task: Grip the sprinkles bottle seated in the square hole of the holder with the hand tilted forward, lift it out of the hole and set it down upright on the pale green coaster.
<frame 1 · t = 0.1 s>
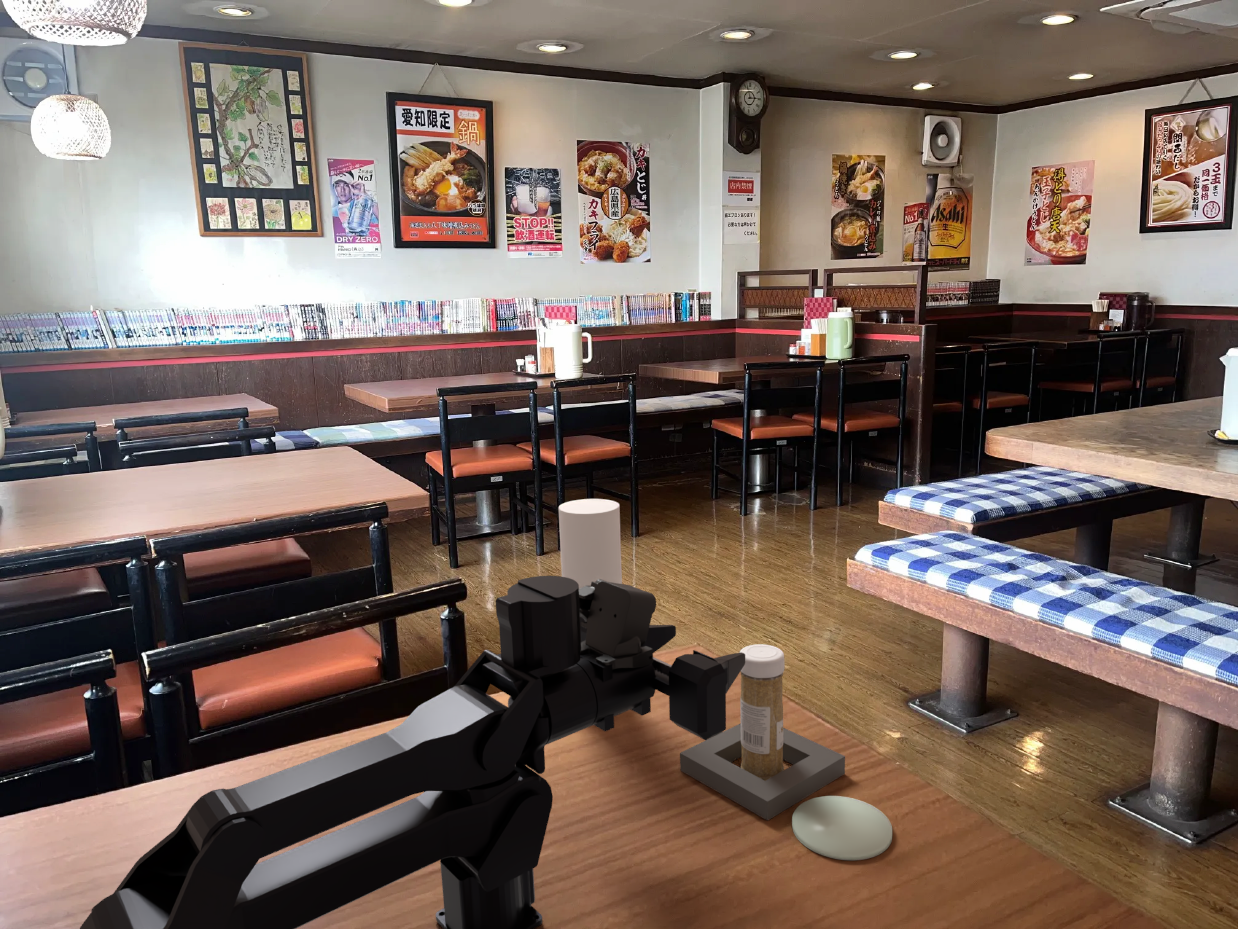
hand: (707, 643, 84), 17 cm above the table, tool horizontal, fingers open, 9 cm apart
coaster: (841, 829, 82), on the table
sprinkles bottle: (761, 774, 92), resting in holder
holder: (761, 772, 92), on the table
cylindrical container: (597, 704, 108), on the table
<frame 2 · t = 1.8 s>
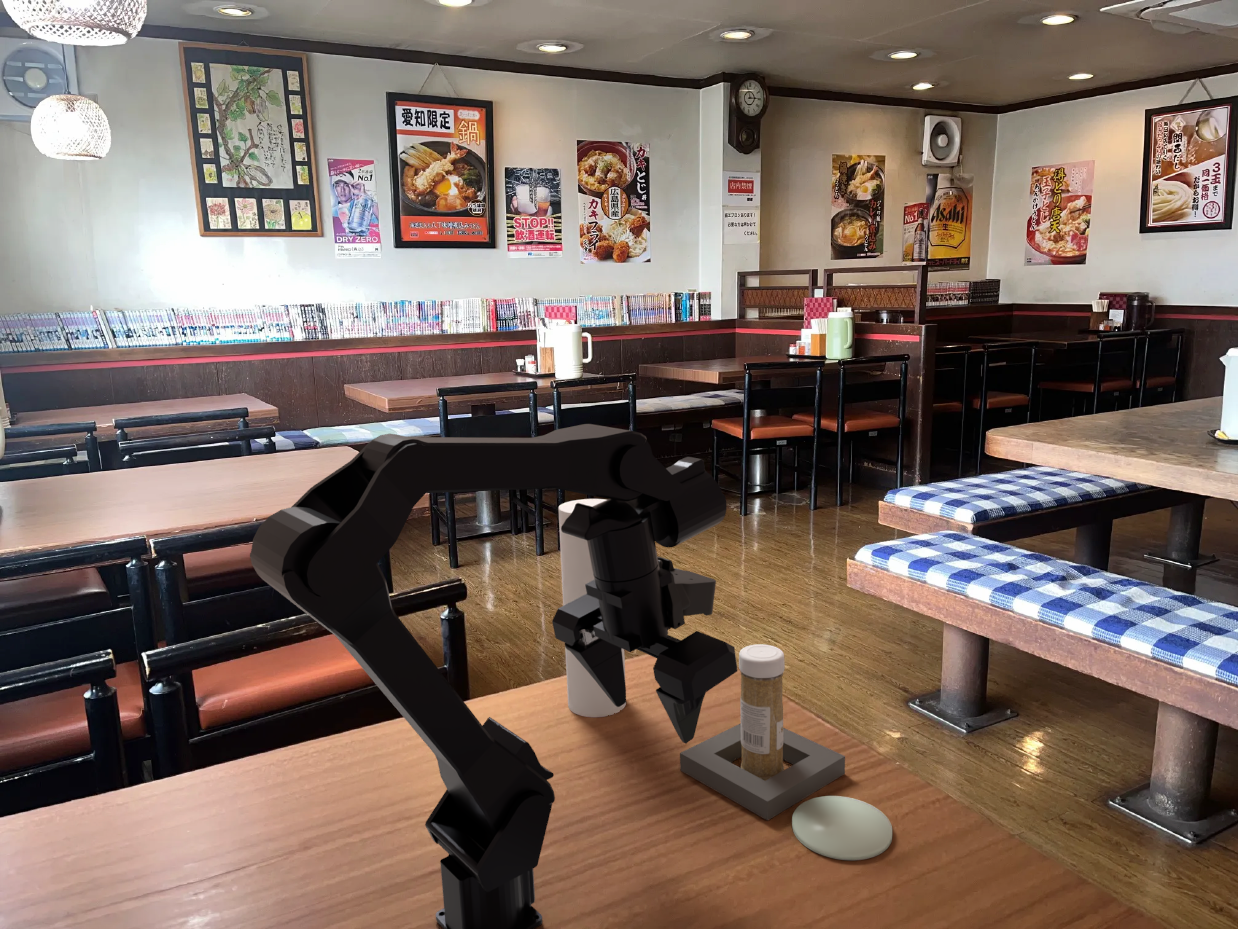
hand: (653, 721, 80), 11 cm above the table, tool pointing down, fingers open, 9 cm apart
nothing on the table moved.
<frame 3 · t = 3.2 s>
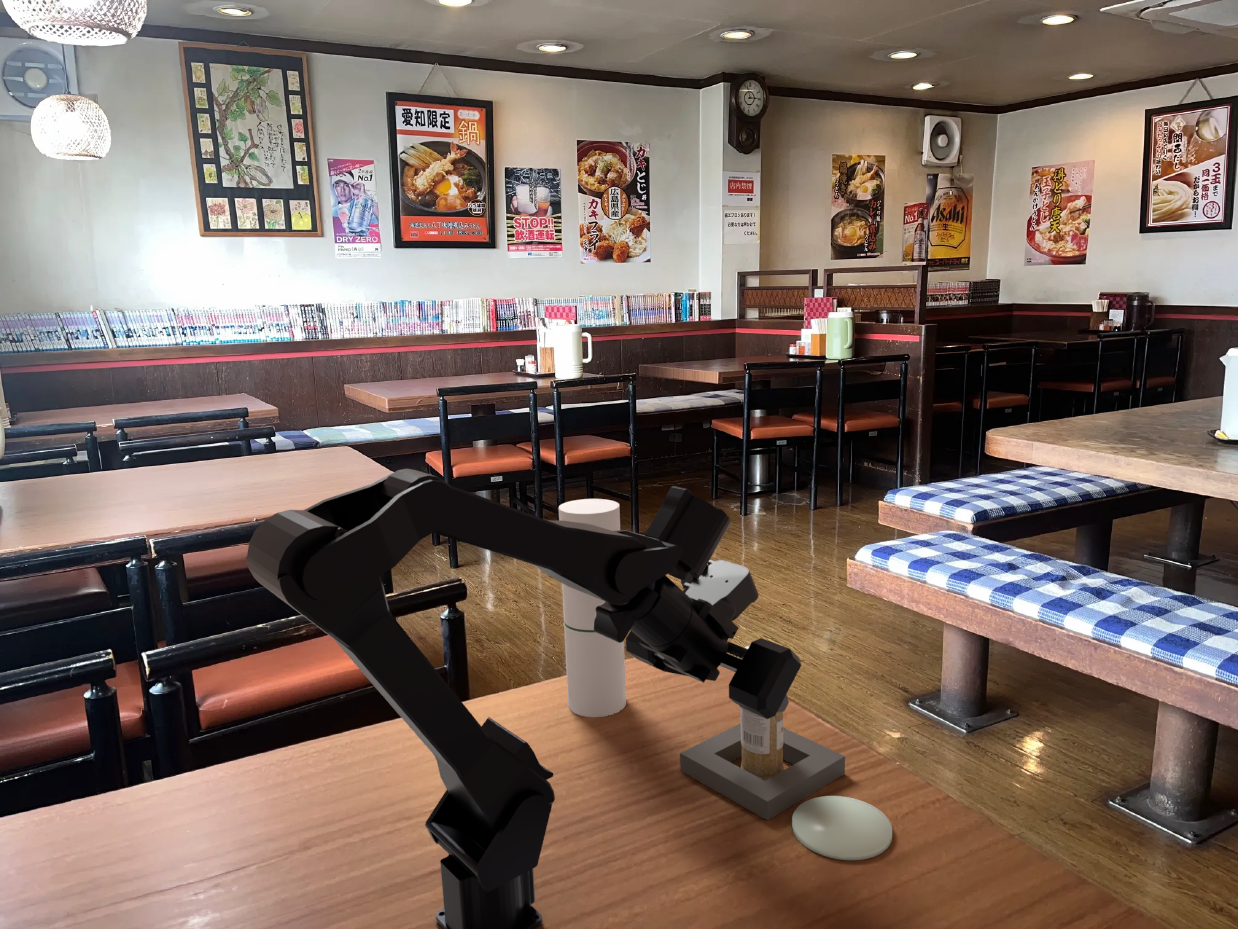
hand: (749, 690, 88), 10 cm above the table, tool tilted 45°, fingers open, 9 cm apart
nothing on the table moved.
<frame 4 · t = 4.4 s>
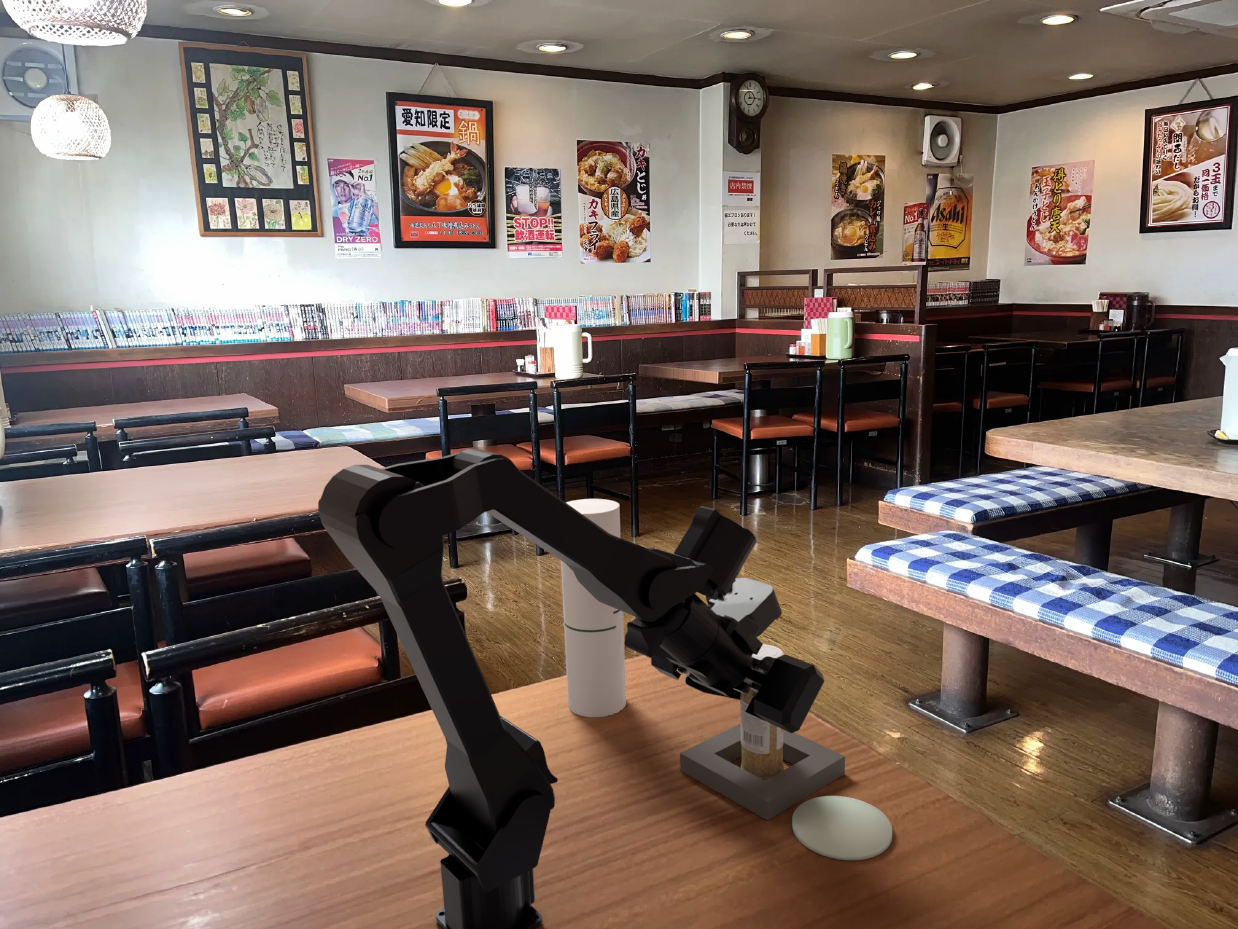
hand: (770, 705, 91), 7 cm above the table, tool tilted 45°, fingers closed on sprinkles bottle, 4 cm apart
sprinkles bottle: (761, 773, 92), resting in holder, touching gripper
everything else where it was.
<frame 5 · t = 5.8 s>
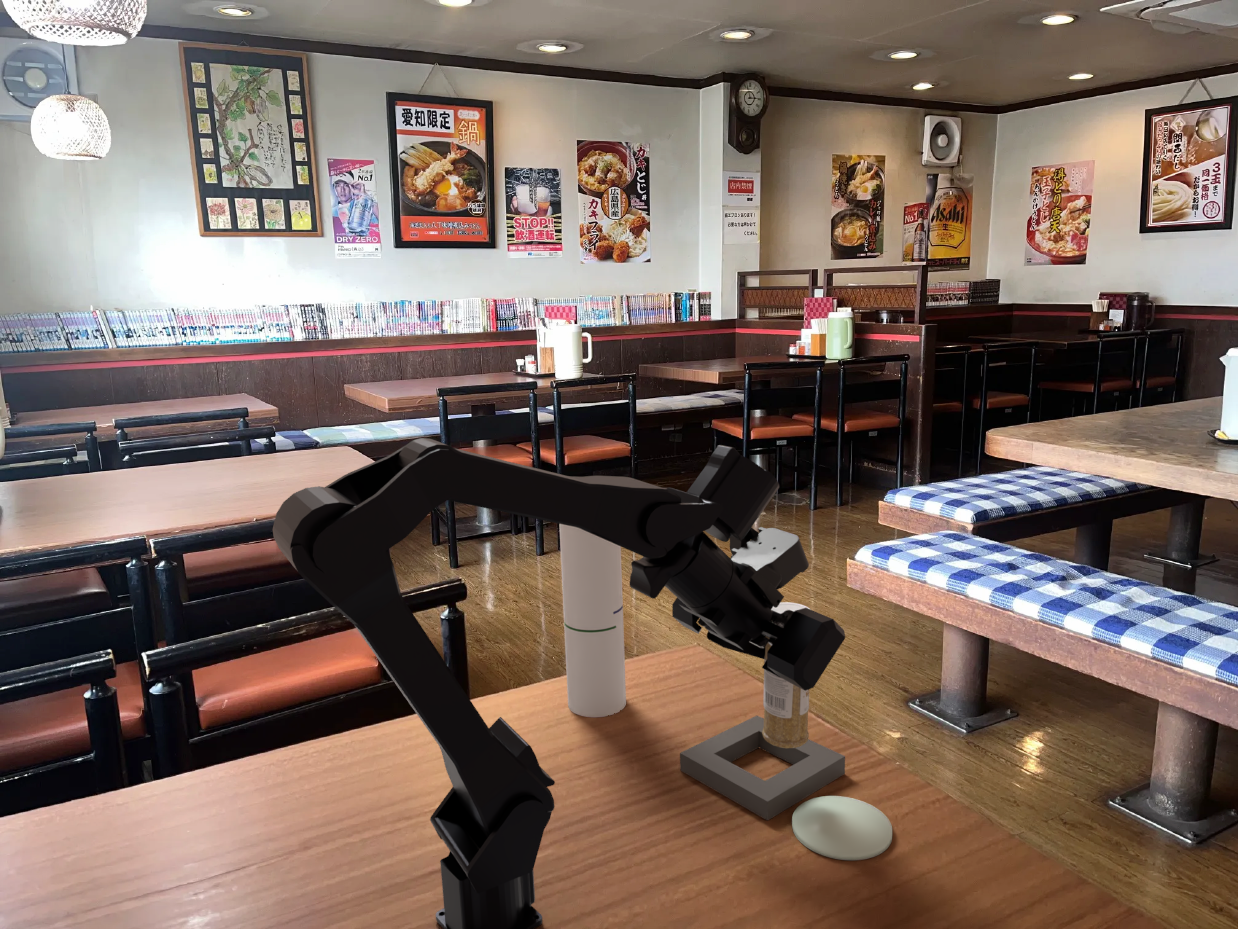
hand: (798, 666, 85), 13 cm above the table, tool tilted 45°, fingers closed on sprinkles bottle, 4 cm apart
sprinkles bottle: (784, 739, 86), point 6 cm above the table, touching gripper
everything else where it was.
when the fingers open (8 cm above the table, at t = 7.4 s): sprinkles bottle stays where it is, resting on coaster.
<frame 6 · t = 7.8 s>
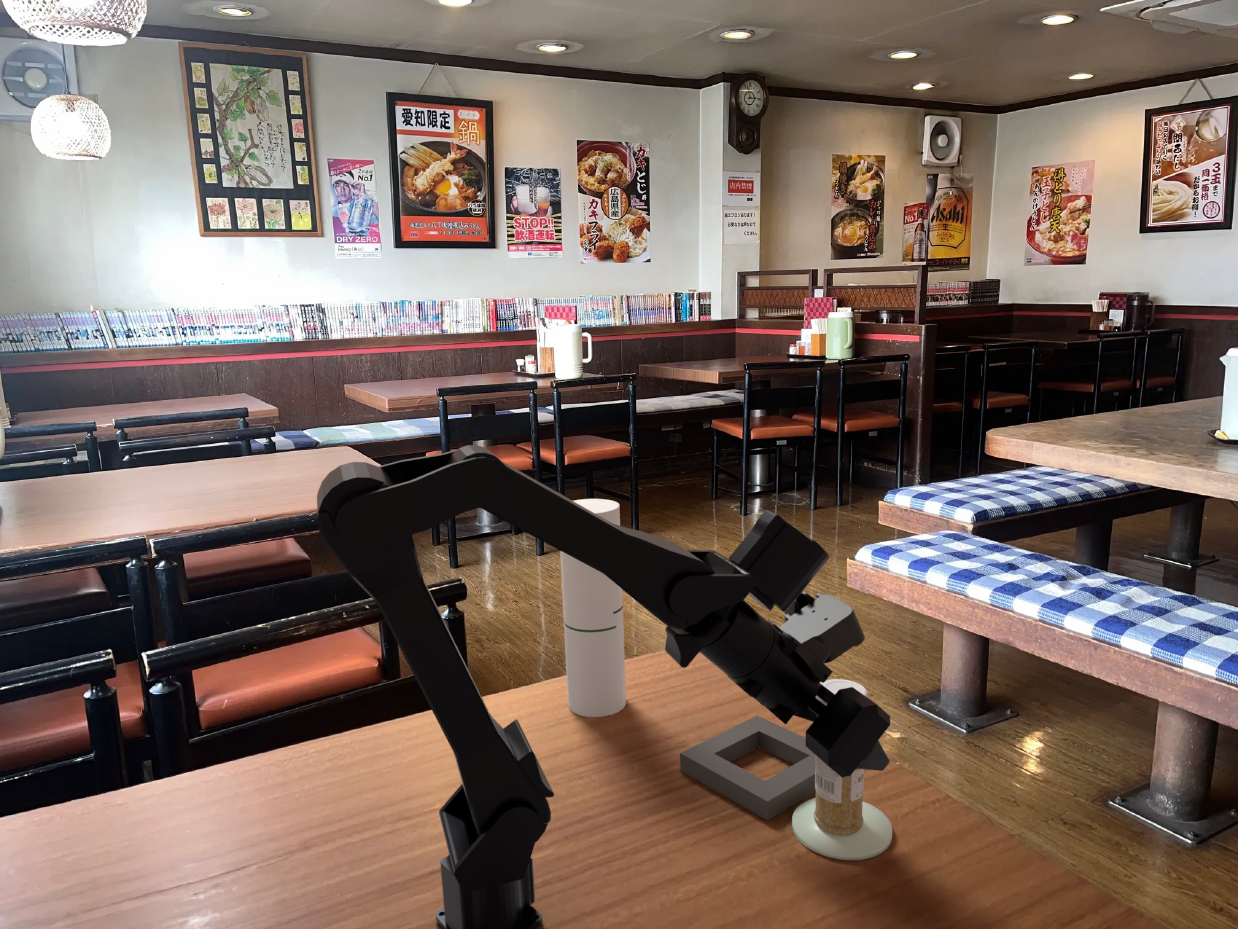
hand: (856, 742, 80), 9 cm above the table, tool tilted 45°, fingers open, 8 cm apart
sprinkles bottle: (837, 824, 82), resting on coaster
everything else where it was.
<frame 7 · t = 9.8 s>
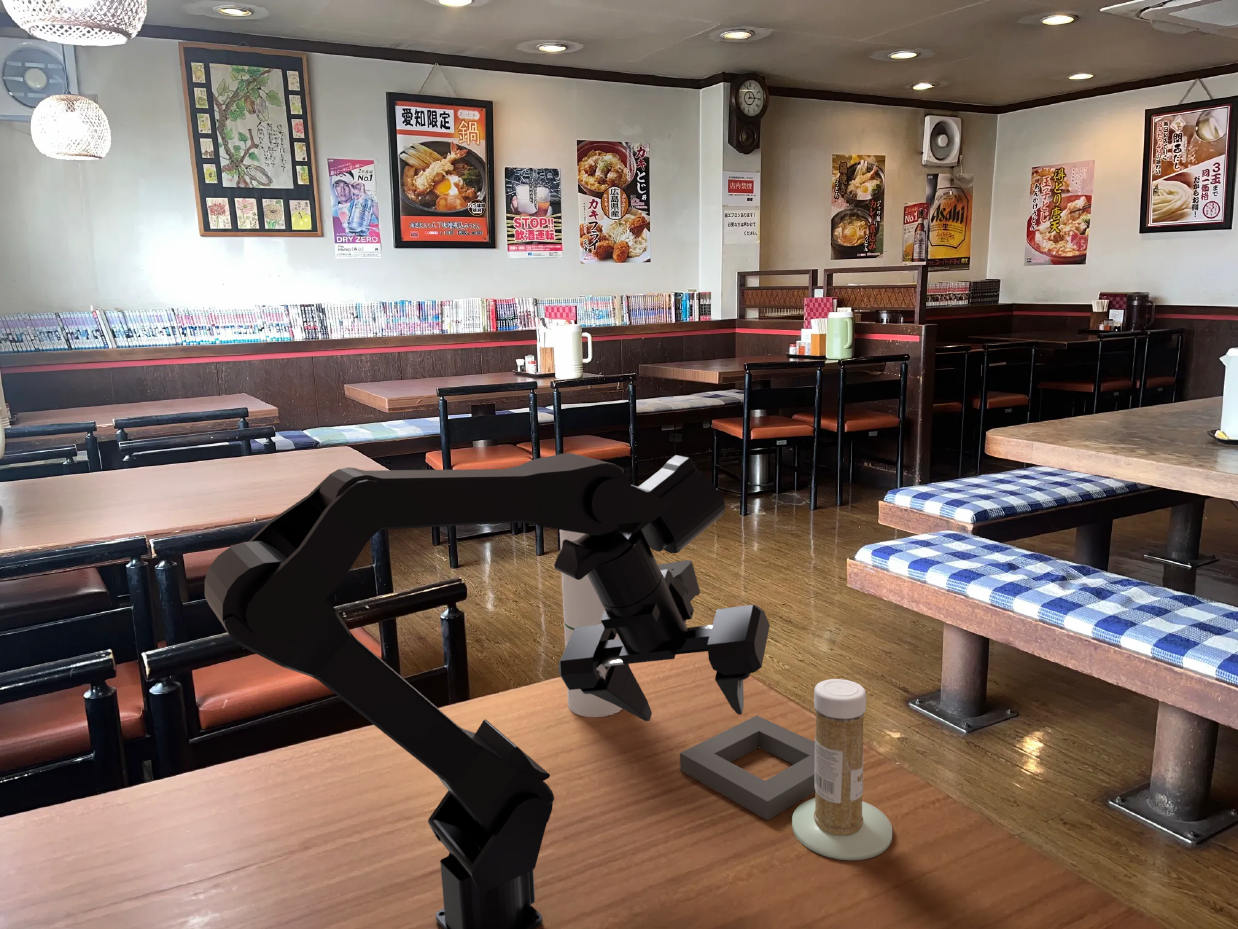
hand: (693, 714, 81), 11 cm above the table, tool tilted 25°, fingers open, 9 cm apart
nothing on the table moved.
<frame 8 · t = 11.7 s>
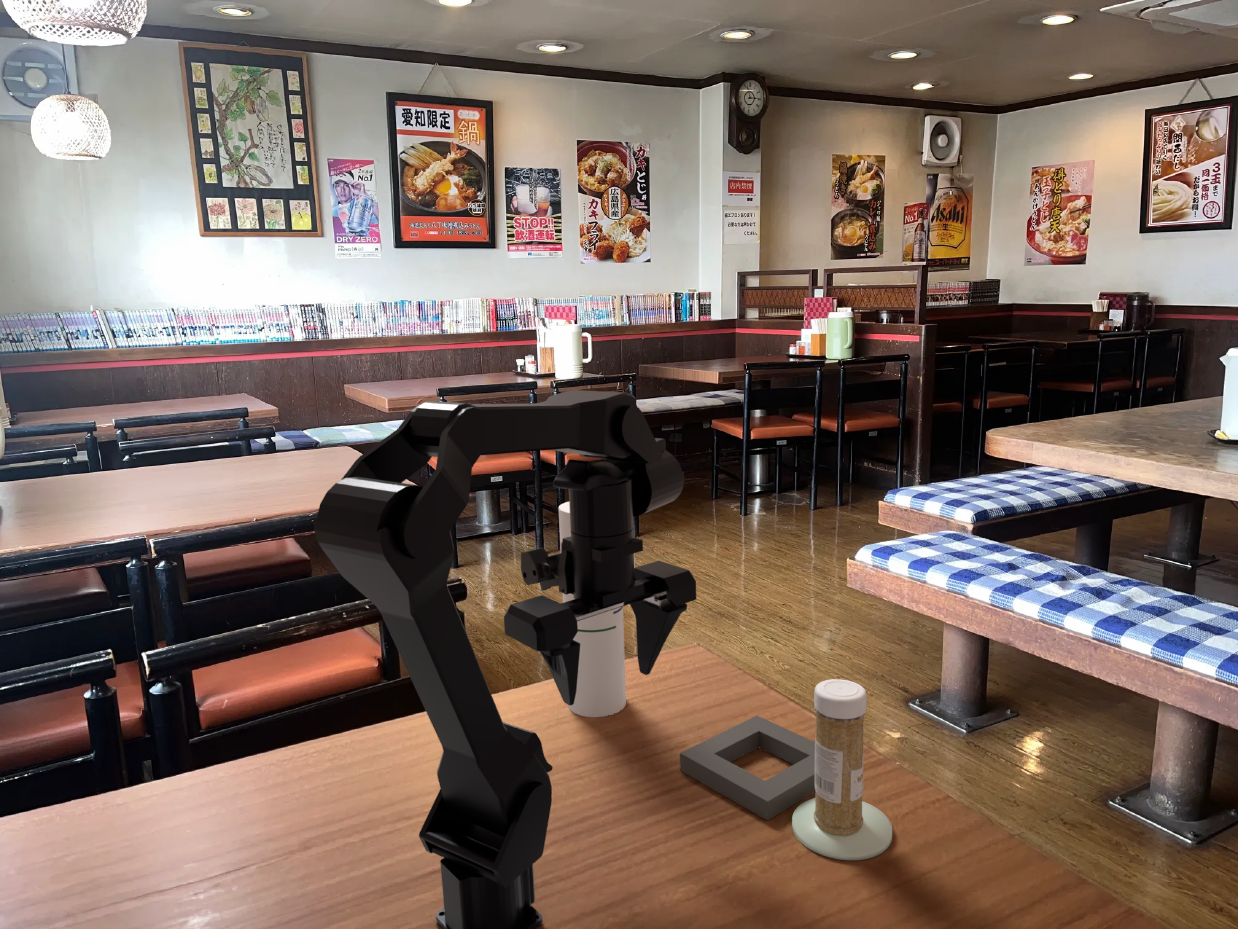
hand: (607, 688, 83), 13 cm above the table, tool pointing down, fingers open, 9 cm apart
nothing on the table moved.
at the end: sprinkles bottle 0.4 cm from the coaster (horizontally); sprinkles bottle tilted 0°; the gripper is holding nothing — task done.
